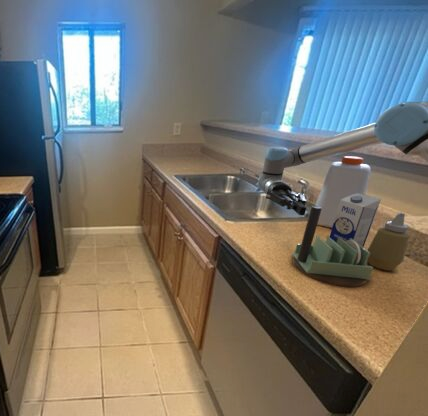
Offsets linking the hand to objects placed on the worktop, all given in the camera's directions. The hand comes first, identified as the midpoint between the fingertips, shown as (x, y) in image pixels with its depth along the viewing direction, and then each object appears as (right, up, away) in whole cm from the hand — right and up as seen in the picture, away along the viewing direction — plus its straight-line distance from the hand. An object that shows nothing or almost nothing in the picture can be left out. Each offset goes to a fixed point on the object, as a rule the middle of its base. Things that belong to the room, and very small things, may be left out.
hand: (302, 211), depth 89 cm
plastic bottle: (+33, -5, +27) cm, 43 cm away
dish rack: (+4, -17, -5) cm, 18 cm away
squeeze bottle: (+22, -17, -3) cm, 28 cm away
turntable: (+5, -18, -4) cm, 19 cm away
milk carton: (+18, -14, +6) cm, 24 cm away
